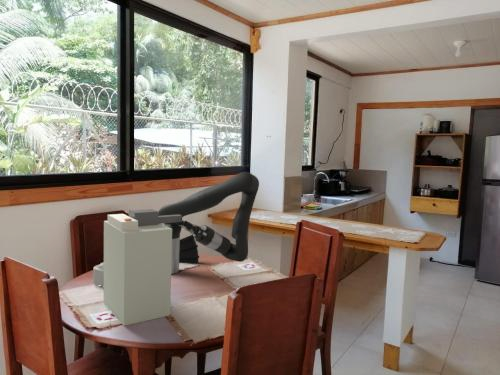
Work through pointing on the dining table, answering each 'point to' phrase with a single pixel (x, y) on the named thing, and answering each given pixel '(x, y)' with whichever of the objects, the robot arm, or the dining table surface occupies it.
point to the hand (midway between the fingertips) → (178, 220)
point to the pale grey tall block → (137, 269)
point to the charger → (152, 217)
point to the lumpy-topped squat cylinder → (98, 274)
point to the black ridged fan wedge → (188, 250)
